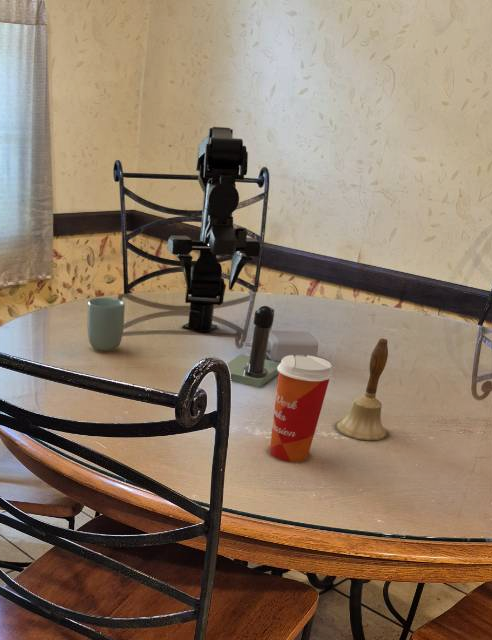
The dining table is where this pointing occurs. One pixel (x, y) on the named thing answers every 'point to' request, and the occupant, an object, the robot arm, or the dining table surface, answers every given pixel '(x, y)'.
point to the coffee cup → (298, 405)
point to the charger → (289, 344)
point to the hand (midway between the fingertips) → (209, 289)
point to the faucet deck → (249, 380)
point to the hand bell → (368, 403)
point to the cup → (105, 323)
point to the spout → (264, 317)
